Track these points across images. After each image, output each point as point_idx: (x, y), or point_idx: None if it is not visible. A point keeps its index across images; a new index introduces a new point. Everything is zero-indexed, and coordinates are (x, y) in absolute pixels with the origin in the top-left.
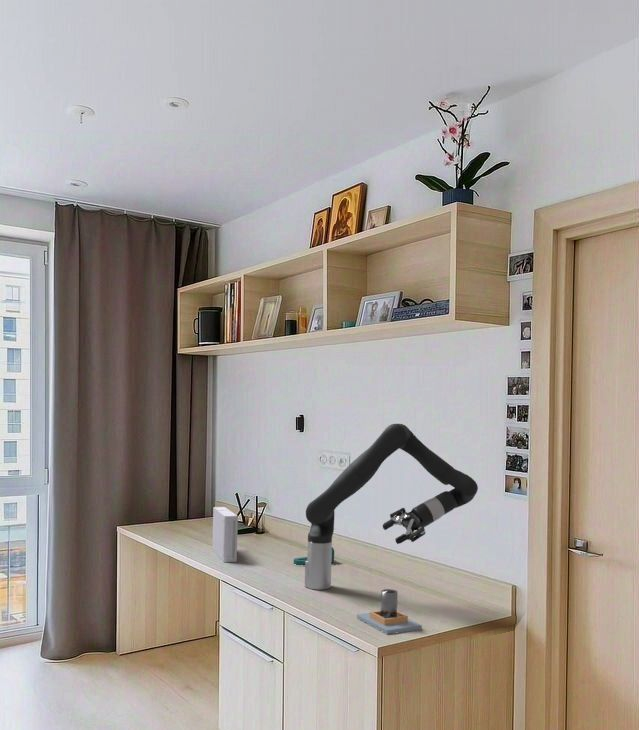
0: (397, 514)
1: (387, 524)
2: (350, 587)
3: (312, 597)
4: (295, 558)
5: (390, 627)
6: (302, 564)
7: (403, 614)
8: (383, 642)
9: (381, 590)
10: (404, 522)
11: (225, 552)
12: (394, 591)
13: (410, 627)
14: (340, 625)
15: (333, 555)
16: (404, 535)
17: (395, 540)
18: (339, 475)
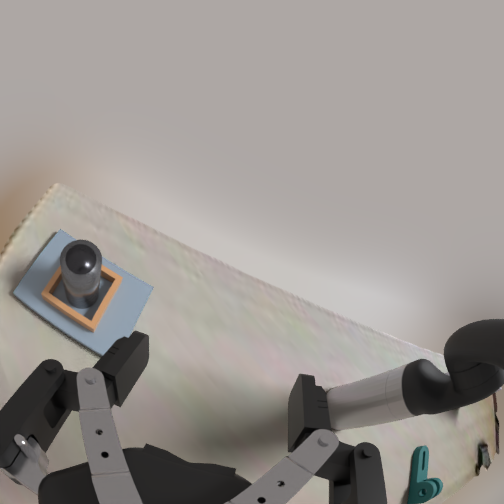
0: (350, 498)
1: (300, 397)
2: None
3: (298, 351)
4: (428, 450)
5: (59, 247)
6: (415, 454)
7: (53, 300)
8: (54, 198)
9: (101, 255)
10: (199, 472)
11: (447, 373)
12: (66, 259)
13: (28, 270)
14: (151, 238)
15: (417, 502)
16: (105, 369)
17: (148, 342)
18: None
